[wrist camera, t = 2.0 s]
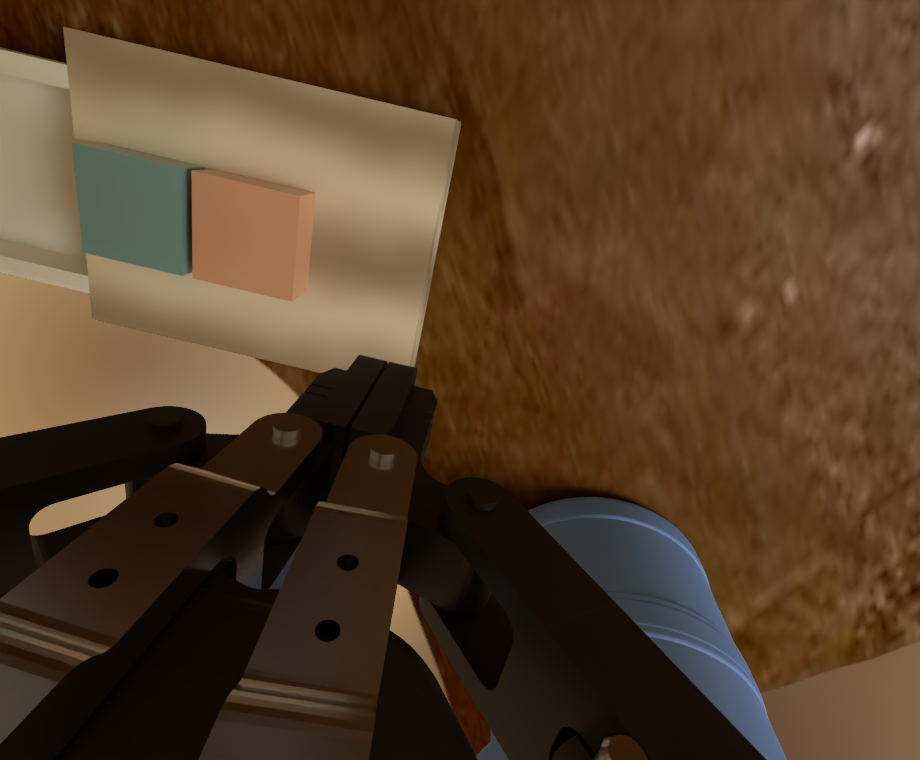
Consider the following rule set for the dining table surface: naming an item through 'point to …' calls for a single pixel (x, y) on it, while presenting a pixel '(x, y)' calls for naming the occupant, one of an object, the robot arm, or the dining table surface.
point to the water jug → (660, 603)
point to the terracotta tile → (251, 233)
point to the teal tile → (135, 206)
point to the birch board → (287, 163)
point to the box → (38, 174)
